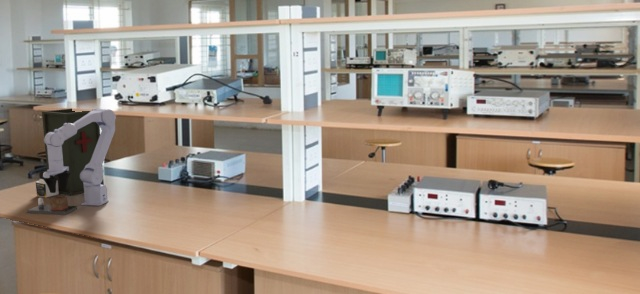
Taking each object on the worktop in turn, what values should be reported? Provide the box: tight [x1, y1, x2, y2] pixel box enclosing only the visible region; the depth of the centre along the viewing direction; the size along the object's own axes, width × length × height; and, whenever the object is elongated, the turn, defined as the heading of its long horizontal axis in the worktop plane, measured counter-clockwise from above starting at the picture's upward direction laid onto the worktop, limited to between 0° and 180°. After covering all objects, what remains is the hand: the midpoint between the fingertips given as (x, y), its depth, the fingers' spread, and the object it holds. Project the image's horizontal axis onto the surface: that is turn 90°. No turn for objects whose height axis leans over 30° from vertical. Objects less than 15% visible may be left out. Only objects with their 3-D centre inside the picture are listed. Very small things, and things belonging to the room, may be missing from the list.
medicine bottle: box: [35, 170, 60, 198], centre depth 273 cm, size 7×7×12 cm
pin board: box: [26, 196, 78, 216], centre depth 247 cm, size 18×9×6 cm, turn 81°
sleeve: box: [49, 195, 69, 210], centre depth 246 cm, size 5×5×5 cm
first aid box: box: [41, 108, 105, 196], centre depth 282 cm, size 18×18×40 cm
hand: (58, 190), depth 245 cm, fingers open, 7 cm apart
